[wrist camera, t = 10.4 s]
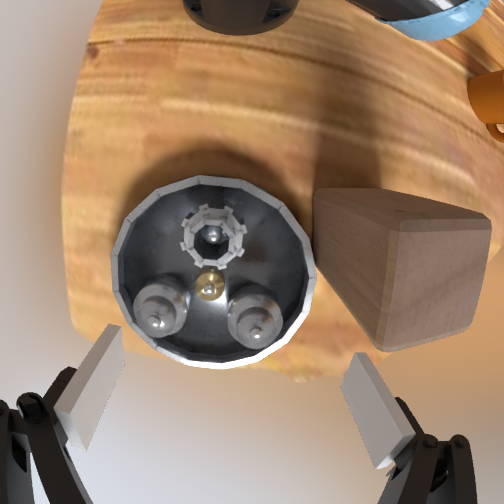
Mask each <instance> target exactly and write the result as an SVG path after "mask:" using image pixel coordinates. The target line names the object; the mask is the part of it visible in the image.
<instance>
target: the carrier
mask: <svg viewBox="0 0 504 504" xmlns="http://www.w3.org/2000/svg"><path fill="white" fill-rule="evenodd" d="M207 200H211V202H212V203H216V204H226V202H227V201H228V202H229V203H231V204H233V205H234V209H233V210H234V212H235V213H236V214H237V215H238V217H239V218H244V220H245V223H246V228H247V233H244V234H243V238H242V240H244V245H245V251H244V253H243V254H242V256H241V257H239V256H235V257H234V258H233V259H231V260H230V261H229V262H228V263H227V268H224V269H220V270H219V269H218V266H212V265H203V266H202V268H200V267H199V266H197V265H195V264H194V263H195V259H194V258H193V257H192V256H191V255H190V253H189V252H188V251H187V250H184V251H182V248H181V245H180V242H181V240H182V239H183V238H184V230H185V227H183V226H181V224H182V222H183V221H184V219H185V217H186V216H187V215H188V214H189V213H190V212H192V213H196V212H197V211H198V210H199V206H200V205H201V204H202V202H204V201H207ZM201 235H202V236H203V237H204V238H205V239H206V241H207V242H208V243H214V244H221V243H222V242H224V241H225V240H226V239H227V238H229V236H228V235H227V234H226V232H225V231H224V230H223V229H222V228H221V226H213V225H205V226H203V227H202V228H201ZM111 271H112V289H113V293H114V295H115V298H116V300H117V302H118V304H119V306H120V309H121V311H122V313H123V315H124V317H125V319H126V321H127V323H128V325H129V326H130V327H131V328H132V329H133V330H134V331H135V332H136V333H137V334H138V335H139V336H140V337H141V338H142V339H143V340H144V341H145V342H146V343H147V344H148V345H150V346H151V347H152V348H153V349H154V350H156V351H158V352H160V353H162V354H164V355H166V356H168V357H170V358H172V359H174V360H177V361H179V362H181V363H183V364H186V365H190V366H198V367H207V368H216V369H225V368H230V367H234V366H239V365H244V364H248V363H252V362H257V361H259V360H260V359H262V358H263V357H265V356H267V355H268V354H270V353H271V352H273V351H275V350H276V349H278V348H279V347H281V346H282V345H284V344H286V343H287V342H288V341H289V339H290V338H291V337H292V335H293V334H294V333H295V331H296V330H297V329H298V327H299V326H300V325H301V323H302V322H303V320H304V319H305V318H306V316H307V315H308V314H309V310H310V306H311V301H312V297H313V293H314V288H315V284H316V280H317V274H316V269H315V264H314V259H313V254H312V249H311V245H310V240H309V237H308V236H307V234H306V233H305V232H304V230H303V229H302V227H301V226H300V225H299V223H298V222H297V220H296V219H295V217H294V216H293V215H292V214H291V212H290V211H289V210H288V208H287V207H286V206H285V204H284V203H283V202H282V201H280V200H278V199H277V198H276V197H274V196H273V195H271V194H270V193H268V192H267V191H265V190H264V189H262V188H261V187H259V186H256V185H254V184H252V183H250V182H248V181H245V180H243V179H238V178H234V177H229V176H223V175H198V176H194V177H190V178H186V179H182V180H179V181H176V182H174V183H171V184H169V185H166V186H164V187H161V188H158V189H155V190H154V191H153V192H152V193H151V194H150V195H149V196H148V197H147V198H146V199H145V200H143V201H142V202H141V203H140V204H139V205H138V206H137V207H136V208H135V209H134V210H133V211H132V212H131V213H130V214H129V215H128V216H127V217H126V218H125V220H124V222H123V225H122V227H121V230H120V232H119V234H118V237H117V240H116V242H115V245H114V247H113V250H112V253H111Z"/></svg>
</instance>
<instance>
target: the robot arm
mask: <svg viewBox="0 0 504 504" xmlns="http://www.w3.org/2000/svg"><path fill="white" fill-rule="evenodd" d="M182 1H183V4H184V7H185V10H186V12H187V14H188V15H189V17H190V18H191V19H192V20H193V21H194V22H196V23H197V24H198V25H200V26H202V27H203V28H205V29H208V30H210V31H213V32H217V33H221V34H226V35H253V34H259V33H263V32H266V31H269V30H272V29H274V28H276V27H278V26H280V25H282V24H283V23H284V22H286V21H287V20H288V19H289V18H290V17H291V16H292V14H293V13H294V11H295V9H296V6H297V4H298V2H299V0H182ZM345 1H347V2H349V3H351V4H353V5H355V6H357V7H359V8H360V9H362V10H364V11H366V12H367V13H369V14H371V15H372V16H374V17H375V19H376V20H378V21H380V22H382V23H385V24H388V25H390V26H392V27H393V28H395V29H397V30H398V31H400V32H402V33H403V34H405V35H406V36H408V37H410V38H412V39H415V40H422V41H424V40H425V41H437V40H442V39H445V38H449V37H451V36H453V35H456V34H458V33H460V32H461V31H463V30H465V29H467V28H468V27H470V26H471V25H472V24H474V23H475V22H476V21H477V20H478V19H479V18H480V17H481V16H482V15H483V11H482V10H483V9H485V8H487V7H488V5H489V2H490V0H345ZM124 366H125V361H124V351H123V340H122V327H121V326H117V325H112V324H108V326H107V327H106V328H105V330H104V331H103V333H102V334H101V336H100V337H99V338H98V340H97V341H96V343H95V344H94V346H93V347H92V349H91V350H90V351H89V353H88V355H87V356H86V358H85V359H84V361H83V362H82V363H81V365H80V366H79V368H78V369H75V368H72V367H67V368H66V369H64V370H63V371H61V372H60V373H59V375H58V376H57V378H56V380H55V381H54V382H53V383H52V385H51V386H50V388H49V389H48V391H47V392H46V394H45V395H44V397H43V398H42V397H41V396H40V395H38V394H36V393H33V392H28V393H24V394H22V395H21V396H20V397H19V398H18V399H17V403H16V406H17V408H18V410H14V409H9V407H8V405H7V403H6V402H4V401H3V400H0V504H35V502H34V495H33V487H32V478H31V464H30V452H32V455H33V459H34V462H35V465H36V468H37V471H38V474H39V477H40V479H41V482H42V485H43V487H44V490H45V493H46V495H47V497H48V500H49V502H50V504H93V502H92V501H91V499H90V497H89V495H88V493H87V491H86V489H85V487H84V485H83V483H82V481H81V479H80V477H79V475H78V473H77V471H76V469H75V467H74V464H73V462H72V460H71V457H70V455H69V452H68V450H67V448H66V446H65V444H66V442H67V440H69V442H70V444H71V445H72V446H74V447H76V448H79V449H81V450H84V451H86V450H87V448H88V446H89V444H90V441H91V439H92V436H93V434H94V432H95V429H96V427H97V425H98V422H99V420H100V418H101V415H102V413H103V411H104V409H105V406H106V404H107V402H108V400H109V398H110V395H111V393H112V391H113V389H114V387H115V385H116V382H117V380H118V378H119V376H120V374H121V372H122V370H123V368H124ZM340 388H341V390H342V392H343V395H344V397H345V399H346V402H347V404H348V406H349V409H350V411H351V413H352V415H353V418H354V420H355V422H356V425H357V427H358V429H359V432H360V434H361V436H362V438H363V441H364V443H365V446H366V448H367V451H368V453H369V455H370V458H371V460H372V463H373V465H374V467H375V469H379V468H383V467H387V466H389V465H390V463H391V462H392V461H393V460H394V461H395V463H396V465H395V466H394V467H393V468H392V469H391V470H390V471H389V472H388V473H387V475H386V476H388V475H389V474H390V473H391V474H390V477H389V479H388V482H387V484H386V486H385V489H384V491H383V493H382V496H381V497H380V500H379V502H378V504H477V492H476V482H475V474H474V467H473V460H472V454H471V449H470V444H469V441H468V439H466V437H464V436H462V435H459V434H458V435H454V436H453V437H452V438H451V439H450V440H449V441H438V439H437V438H436V437H434V436H433V435H430V434H425V433H424V432H423V430H422V428H421V427H420V425H419V424H418V422H417V421H416V419H415V417H414V416H413V414H412V412H411V411H409V408H408V406H407V405H406V403H405V402H404V401H403V400H402V399H400V398H399V397H395V398H394V396H393V395H392V393H391V392H390V390H389V388H388V387H387V385H386V384H385V382H384V381H383V379H382V377H381V376H380V374H379V373H378V371H377V369H376V368H375V366H374V365H373V363H372V361H371V360H370V358H369V357H368V355H367V354H366V353H355V354H354V356H353V358H352V361H351V363H350V365H349V368H348V370H347V372H346V375H345V377H344V379H343V381H342V383H341V386H340ZM447 471H448V474H447Z"/></svg>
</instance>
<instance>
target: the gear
mask: <svg viewBox="0 0 504 504" xmlns="http://www.w3.org/2000/svg"><path fill="white" fill-rule="evenodd" d="M233 209H234V205H233V204H231V203H229V202H228V201H227V202H226V204H216V203H212V202H211V200H207V201H204V202H202V204H201V205H200V206H199V210H198V211H197V212H196V213H192V212H190V213H189V214H188V215H187V216H186V217H185V219H184V221H183V222H182V224H181V226H183V227H185V230H184V238H183V239H182V240H181V242H180V245H181V248H182V251H184V250H187V251H188V252H189V253H190V255H191V256H192V257H193V258H194V259H195V263H194V264H195V265H197V266H199V267H200V268H202V266H203V265H212V266H218V269H219V270H220V269H224V268H227V263H228V262H229V261H230V260H231V259H233V258H234V257H235V256H239V257H241V256H242V254H243V253H244V251H245V245H244V240H242V238H243V234H244V233H247V228H246V223H245V220H244V218H239V217H238V215H237V214H236V213H235V212H234V210H233ZM205 225H213V226H221V228H222V229H223V230H224V231H225V232H226V234H227V235H228V236H229V238H227V239H226V240H225V241H224V242H222V243H221V244H214V243H208V242H207V241H206V239H205V238H204V237H203V236H202V235H201V228H202V227H203V226H205Z"/></svg>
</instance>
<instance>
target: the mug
mask: <svg viewBox="0 0 504 504" xmlns="http://www.w3.org/2000/svg"><path fill="white" fill-rule="evenodd" d="M468 97H469V101H470V103H471V106H472V108H473V110H474V112H475V114H476V115H477V117H478V118H479V119H480V120H481V121H482V122H483V123H485V124H487V128H488V130H489V132H490V134H491V135H492V136H493V137H494V138H495V139H496V140H498V141H499V142H502V143H504V133H502V132H500V131H499V130H498V128H497V126H496V124H504V70H500V71H496V72H491V73H487V74H483V75H479V76H475V77H472V78H471V79H470V80H469V82H468Z"/></svg>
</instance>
